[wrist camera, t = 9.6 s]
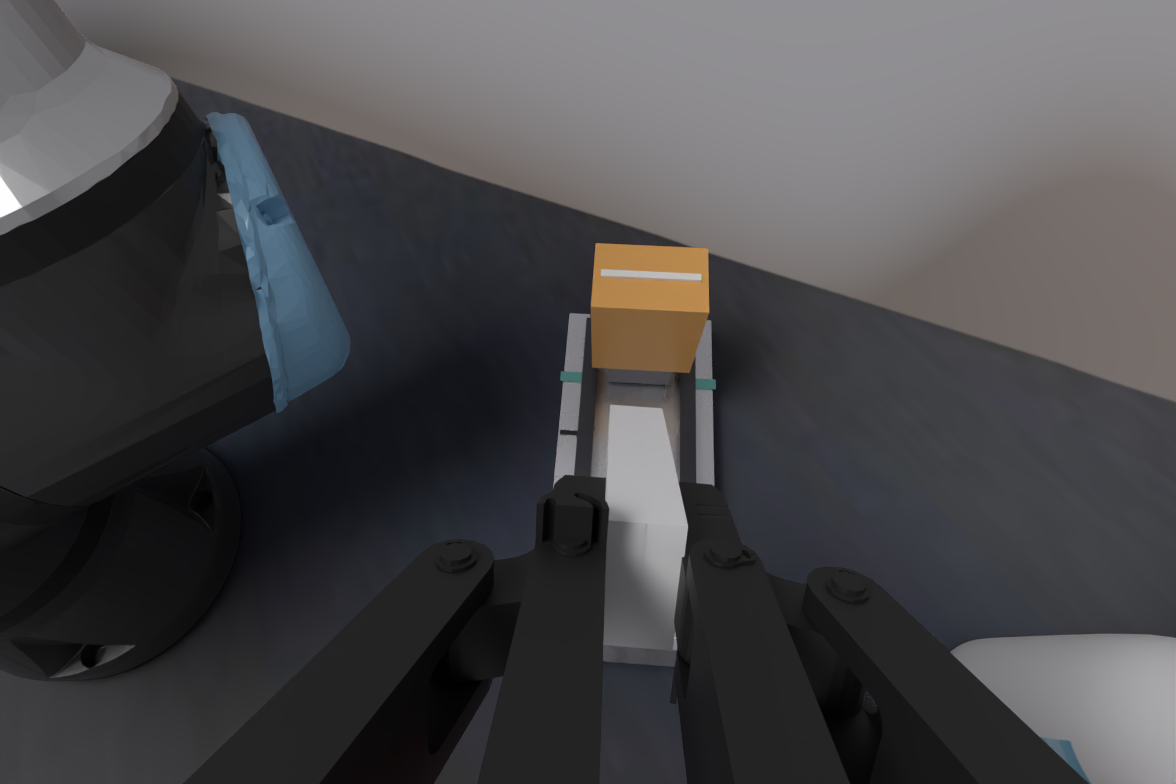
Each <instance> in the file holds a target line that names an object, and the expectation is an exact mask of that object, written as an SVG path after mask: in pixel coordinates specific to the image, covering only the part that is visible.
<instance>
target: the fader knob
mask: <svg viewBox="0 0 1176 784" xmlns="http://www.w3.org/2000/svg"><path fill="white" fill-rule="evenodd" d="M708 315H709V273H708V248H689V247H667V246H646V245H624V244H602V243H596V247H595V260H594V273H593V286H592V298H591V341H592V368H607V369H608V382H622V383H640V384H658V385H668V383H669V379H670V375H671V372H680V373H690V370H691V367H692V364H693V361H694V358H695V355H696V352H697V348H698V345H699V342H700V339H701V336H702V333H703V330H704V327H705V324H706V321H707V318H708Z"/></svg>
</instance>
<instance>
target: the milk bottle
mask: <svg viewBox="0 0 1176 784" xmlns="http://www.w3.org/2000/svg"><path fill="white" fill-rule="evenodd" d="M950 653H951V654H952V655H954V656H955V657H956V658H957V659H958V660H959V661H960V662H961V663H962V664H963V665H964V666H965V667H966V668H967V669H968V670H969V671H970V672H972V673H973V674H974V675H975V676H976V677H977V678H978V679H979V680H980V681H981V682H982V683H983V684H984V685H985V686H986V687H987V688H988V689H989V690H991V691H992V692H993V693H994V694H995V695H996V696H997V697H998V698H999V699H1000V700H1001V701H1002V702H1003V703H1004V704H1005V705H1006V706H1007V707H1009V708H1010V709H1011V710H1012V711H1013V712H1014V713H1015V714H1016V715H1017V716H1018V717H1019V718H1020V719H1021V720H1022V721H1023V722H1024V723H1025V724H1026V725H1028V726H1029V727H1030V728H1031V729H1032V730H1033V731H1034V732H1035V733H1036V734H1037V735H1038V736H1039V737H1040V738H1041V739H1042V740H1043V741H1044V742H1046V743H1047V744H1048V745H1049V746H1050V747H1051V748H1052V749H1053V750H1054V751H1055V752H1056V753H1057V754H1058V755H1059V756H1060V757H1061V758H1062V759H1064V760H1065V761H1066V762H1067V763H1068V764H1069V765H1070V766H1071V767H1072V768H1073V769H1074V770H1075V771H1076V772H1077V773H1078V774H1079V775H1080V776H1081V777H1083V778H1084V779H1085V780H1086V781H1087V782H1088V783H1089V784H1176V638H1174V637H1166V636H1158V635H1147V634H1080V635H1049V636H1024V637H1001V638H986V639H977V640H972V641H968V642H965V643H963V644H961V645H959V646H957V647H956V648H954V649H953V650H952V651H951V652H950Z"/></svg>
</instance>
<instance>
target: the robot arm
mask: <svg viewBox="0 0 1176 784" xmlns="http://www.w3.org/2000/svg"><path fill="white" fill-rule="evenodd" d="M205 118H206V121H201V120H200V119H199V118H198V117H197V115H196V114H195V112H194V111H193V110H192V108H191V107H190V105H189V104H188V103H187V101H186V100H185V98H184V97H183V95H182V94H181V93H180V91H179V90H178V88H177V87H176V86H175V84H174V83H173V81H172V80H171V79H170V77H169V76H168V75H167V74H165V73H164V72H163V71H162V70H160V69H158V68H156V67H153V66H150V65H147V64H145V63H142V62H139V61H137V60H134V59H131V58H129V57H126V56H123V55H120V54H118V53H115V52H112V51H109V50H106V49H104V48H101V47H98V46H96V45H94V44H93V43H91V42H90V41H89V40H88V39H87V38H86V37H84V36H83V35H82V34H81V33H80V32H79V31H78V30H77V29H76V28H75V27H74V25H73V24H72V23H71V21H70V20H69V19H68V18H67V16H66V15H65V14H64V12H63V11H62V10H61V8H60V7H59V6H58V4H57V3H56V2H55V1H54V0H0V670H2V671H5V672H7V673H10V674H12V675H15V676H19V677H22V678H28V679H33V680H41V681H70V680H88V679H97V678H103V677H107V676H111V675H115V674H118V673H121V672H124V671H127V670H129V669H132V668H134V667H136V666H138V665H141V664H143V663H145V662H146V661H148V660H150V659H152V658H154V657H155V656H157V655H158V654H160V653H162V652H163V651H164V650H166V649H167V648H169V647H170V646H171V645H173V644H174V643H175V642H176V641H178V640H179V639H180V638H181V637H182V636H183V635H184V634H186V633H187V632H188V631H189V630H190V629H191V628H192V627H193V626H194V625H195V624H196V623H197V621H198V620H199V619H200V618H201V617H202V616H203V615H204V613H205V612H206V611H207V609H208V608H209V607H210V605H211V604H212V603H213V601H214V600H215V598H216V597H217V595H218V593H219V592H220V590H221V588H222V587H223V585H224V583H225V581H226V579H227V577H228V575H229V572H230V570H231V567H232V565H233V562H234V559H235V556H236V553H237V549H238V545H239V539H240V532H241V508H240V501H239V497H238V493H237V490H236V487H235V484H234V482H233V480H232V478H231V476H230V474H229V472H228V471H227V469H226V468H225V467H224V465H223V464H222V463H221V462H220V461H219V460H218V459H217V458H216V457H215V456H214V455H213V454H211V453H210V452H209V451H207V450H206V449H204V447H206V446H208V445H210V444H212V443H213V442H215V441H217V440H219V439H221V438H223V437H225V436H227V435H229V434H231V433H233V432H235V431H237V430H239V429H241V428H243V427H245V426H247V425H248V424H250V423H252V422H254V421H256V420H258V419H260V418H262V417H264V416H266V415H268V414H270V413H272V412H276V413H279V412H281V411H283V409H284V408H286V407H287V406H288V403H289V402H290V401H291V400H293V399H295V398H296V397H298V396H300V395H302V394H303V393H305V392H307V391H309V390H310V389H312V388H314V387H316V386H317V385H319V384H321V383H322V382H324V381H326V380H328V379H329V378H331V377H333V376H334V375H335V374H337V373H338V372H339V371H340V370H341V369H342V368H343V366H344V364H345V362H346V360H347V358H348V355H349V353H350V337H349V334H348V331H347V329H346V326H345V324H344V322H343V320H342V318H341V316H340V314H339V311H338V309H337V307H336V305H335V303H334V301H333V299H332V297H331V295H330V292H329V290H328V288H327V286H326V284H325V282H324V280H323V278H322V276H321V274H320V271H319V269H318V267H317V265H316V263H315V261H314V259H313V257H312V255H311V252H310V250H309V248H308V246H307V244H306V242H305V240H304V238H303V236H302V234H301V232H300V230H299V228H298V226H297V223H296V221H295V219H294V217H293V215H292V213H291V211H290V208H289V206H288V204H287V202H286V200H285V198H284V196H283V194H282V192H281V190H280V187H279V185H278V183H277V181H276V179H275V177H274V175H273V173H272V171H271V169H270V167H269V164H268V162H267V160H266V158H265V156H264V154H263V152H262V150H261V148H260V146H259V144H258V142H257V140H256V138H255V135H254V133H253V131H252V129H251V127H250V125H249V123H248V122H247V120H246V119H245V118H244V117H242V116H240V115H238V114H235V113H228V114H220V113H217V112H213V113H211V114H209V115H207V116H206V117H205ZM675 633H676V641H677V653H676V661H675V669H674V676H673V684H672V692H671V700H670V703H674V704H676V701H677V698H678V706H679V715H680V723H681V732H682V740H683V749H684V757H685V766H686V774H687V783H688V784H1089V783H1088V782H1087V781H1086V780H1085V779H1084V778H1083V777H1081V776H1080V775H1079V774H1078V773H1077V772H1076V771H1075V770H1074V769H1073V768H1072V767H1071V766H1070V765H1069V764H1068V763H1067V762H1066V761H1065V760H1064V759H1062V758H1061V757H1060V756H1059V755H1058V754H1057V753H1056V752H1055V751H1054V750H1053V749H1052V748H1051V747H1050V746H1049V745H1048V744H1047V743H1046V742H1044V741H1043V740H1042V739H1041V738H1040V737H1039V736H1038V735H1037V734H1036V733H1035V732H1034V731H1033V730H1032V729H1031V728H1030V727H1029V726H1028V725H1026V724H1025V723H1024V722H1023V721H1022V720H1021V719H1020V718H1019V717H1018V716H1017V715H1016V714H1015V713H1014V712H1013V711H1012V710H1011V709H1010V708H1009V707H1007V706H1006V705H1005V704H1004V703H1003V702H1002V701H1001V700H1000V699H999V698H998V697H997V696H996V695H995V694H994V693H993V692H992V691H991V690H989V689H988V688H987V687H986V686H985V685H984V684H983V683H982V682H981V681H980V680H979V679H978V678H977V677H976V676H975V675H974V674H973V673H972V672H970V671H969V670H968V669H967V668H966V667H965V666H964V665H963V664H962V663H961V662H960V661H959V660H958V659H957V658H956V657H955V656H954V655H952V654H951V653H950V652H949V651H948V650H947V649H946V648H945V647H944V646H943V645H942V644H941V643H940V642H939V641H938V640H937V639H936V638H934V637H933V636H932V635H931V634H930V633H929V632H928V631H927V630H926V629H925V628H924V627H923V626H922V625H921V624H920V623H919V622H918V621H917V620H915V619H914V618H913V617H912V616H911V615H910V614H909V613H908V612H907V611H906V610H905V609H904V608H903V607H902V606H901V605H900V604H899V603H897V602H896V601H895V600H894V599H893V598H892V597H891V596H890V595H889V594H888V593H887V592H886V591H885V590H884V589H883V588H882V587H880V586H879V585H878V584H876V583H875V582H874V581H872V580H871V579H869V578H867V577H865V576H863V575H861V574H859V573H857V572H855V571H852V570H849V569H848V570H846V569H845V568H835V567H823V568H819V569H814V570H813V571H812V572H811V573H810V574H808V577H807V582H806V585H803V584H799V583H795V582H792V581H788V580H784V579H781V578H778V577H775V576H773V575H770V574H768V573H766V572H765V569H764V567H763V564H762V562H761V560H760V558H759V557H758V556H757V554H756V553H755V552H754V551H752V550H751V549H749V548H748V547H746V546H745V545H742V544H741V541H740V538H739V536H738V533H737V530H736V527H735V525H734V522H733V519H732V518H731V514H730V511H729V509H728V505H727V503H726V500H725V497H724V495H723V494H722V493H721V492H720V491H718V490H717V489H716V488H715V487H714V486H713V485H712V484H700V483H687V482H678V478H677V473H676V469H675V464H674V460H673V455H672V450H671V446H670V441H669V437H668V432H667V428H666V423H665V418H664V414H663V409H662V408H650V407H636V406H622V405H610V412H609V425H608V439H607V452H606V465H605V478H601V477H588V476H575V475H564V476H563V477H562V478H561V479H559V480H558V481H557V482H556V483H555V484H554V488H553V492H550V493H548V494H546V495H544V496H543V497H541V499H540V500H539V501H538V503H537V520H536V543H535V548H534V550H532V551H530V552H529V553H527V554H524V555H521V556H519V557H515V558H510V559H503V560H495V561H494V558H493V554H492V551H491V550H490V549H488V548H487V547H486V546H485V545H483V544H480V543H478V542H475V541H470V540H462V539H458V540H448V541H444V542H441V543H438V544H435V545H432V546H431V547H429V548H428V549H426V550H425V551H423V552H422V553H421V554H420V555H419V556H418V557H417V558H416V559H415V560H414V561H413V562H412V563H411V564H410V565H409V566H408V567H407V568H406V569H405V570H404V571H403V572H402V573H400V574H399V575H398V576H397V577H396V578H395V579H394V580H393V581H392V582H391V583H390V584H389V585H388V586H387V587H386V588H385V589H384V590H383V591H382V592H381V593H380V594H379V595H378V596H377V597H376V598H375V599H374V600H373V601H372V602H371V603H369V604H368V605H367V606H366V607H365V608H364V609H363V610H362V611H361V612H360V613H359V614H358V615H357V616H356V617H355V618H354V619H353V620H352V621H351V622H350V623H349V624H348V625H347V626H346V627H345V628H344V629H343V630H342V631H341V632H339V633H338V634H337V635H336V636H335V637H334V638H333V639H332V640H331V641H330V642H329V643H328V644H327V645H326V646H325V647H324V648H323V649H322V650H321V651H320V652H319V653H318V654H317V655H316V656H315V657H314V658H313V659H312V660H311V661H310V662H308V663H307V664H306V665H305V666H304V667H303V668H302V669H301V670H300V671H299V672H298V673H297V674H296V675H295V676H294V677H293V678H292V679H291V680H290V681H289V682H288V683H287V684H286V685H285V686H284V687H283V688H282V689H281V690H280V691H278V692H277V693H276V694H275V695H274V696H273V697H272V698H271V699H270V700H269V701H268V702H267V703H266V704H265V705H264V706H263V707H262V708H261V709H260V710H259V711H258V712H257V713H256V714H255V715H254V716H253V717H252V718H251V719H250V720H249V721H247V722H246V723H245V724H244V725H243V726H242V727H241V728H240V729H239V730H238V731H237V732H236V733H235V734H234V735H233V736H232V737H231V738H230V739H229V740H228V741H227V742H226V743H225V744H224V745H223V746H222V747H221V748H220V749H219V750H217V751H216V752H215V753H214V754H213V755H212V756H211V757H210V758H209V759H208V760H207V761H206V762H205V763H204V764H203V765H202V766H201V767H200V768H199V769H198V770H197V771H196V772H195V773H194V774H193V775H192V776H191V777H190V778H189V779H187V780H186V781H185V782H184V783H183V784H434V782H435V780H436V779H437V777H438V775H439V774H440V772H441V770H442V769H443V767H444V765H445V764H446V762H447V760H448V759H449V757H450V755H451V753H452V752H453V750H454V748H455V747H456V745H457V743H458V742H459V740H460V738H461V737H462V735H463V733H464V732H465V730H466V728H467V726H468V725H469V723H470V721H471V720H472V718H473V716H474V715H475V713H476V711H477V710H478V708H479V706H480V704H481V703H482V701H483V699H484V698H485V696H486V694H487V693H488V691H489V688H490V685H491V682H492V678H495V677H501V676H503V680H502V684H501V688H500V693H499V697H498V701H497V705H496V709H495V713H494V717H493V722H492V726H491V730H490V734H489V738H488V742H487V746H486V751H485V755H484V759H483V763H482V767H481V771H480V775H479V780H478V784H599V772H600V739H601V706H602V673H603V645H610V646H622V647H634V648H646V649H657V650H669V651H673V643H674V635H675ZM867 691H868V692H869V693H870V695H871V696H872V698H873V699H874V701H875V702H876V704H877V706H878V710H877V709H875V708H874V707H873V706H872V704H871V703H870V702H869V700H868V699H867V698H866V693H867Z"/></svg>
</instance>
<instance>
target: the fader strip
mask: <svg viewBox="0 0 1176 784" xmlns="http://www.w3.org/2000/svg"><path fill="white" fill-rule="evenodd" d="M560 381H563V389H562V400H561V411H560V421H559V432H558V443H557V453H556V464H555V475H554V484H555V483H556V482H557V481H558V480H559V479H561V478H562V477H563V476H564V475H575V476H588V477H601V478H605V465H606V452H607V439H608V425H609V412H610V405H622V406H636V407H650V408H662V409H663V414H664V418H665V423H666V428H667V432H668V437H669V441H670V446H671V450H672V455H673V460H674V464H675V469H676V473H677V478H678V482H687V483H700V484H712V485H713V486H714V441H713V390H716V380H714V379H712V336H711V320H707V321H706V324H705V327H704V330H703V333H702V336H701V339H700V342H699V345H698V348H697V352H696V355H695V358H694V361H693V364H692V367H691V370H690V373H680V372H671V375H670V379H669V383H668V385H658V384H640V383H622V382H608V369H607V368H592V341H591V302H590V314H574V313H570V315H569V325H568V336H567V347H566V357H565V368H564V371H561V377H560ZM553 488H554V485H553ZM676 653H677V641H676V633H675V635H674V643H673V651H669V650H657V649H646V648H634V647H622V646H610V645H603V661H604V662H618V663H631V664H644V665H658V666H671V667H675V661H676Z"/></svg>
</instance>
